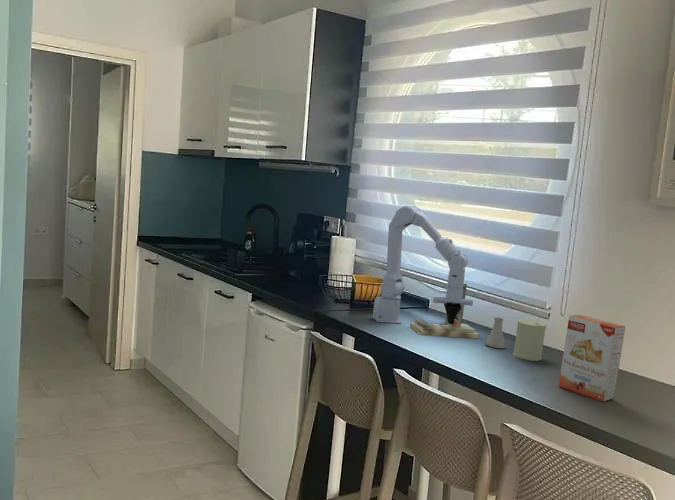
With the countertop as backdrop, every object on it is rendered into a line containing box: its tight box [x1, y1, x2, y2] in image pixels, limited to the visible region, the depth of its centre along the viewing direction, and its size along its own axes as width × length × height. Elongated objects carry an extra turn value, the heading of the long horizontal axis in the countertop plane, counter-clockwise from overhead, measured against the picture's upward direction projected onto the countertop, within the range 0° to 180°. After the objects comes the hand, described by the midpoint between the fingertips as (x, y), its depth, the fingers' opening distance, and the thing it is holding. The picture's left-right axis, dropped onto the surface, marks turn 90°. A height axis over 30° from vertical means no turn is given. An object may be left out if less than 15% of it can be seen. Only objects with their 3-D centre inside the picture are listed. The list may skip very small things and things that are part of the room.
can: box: [512, 319, 547, 362], centre depth 228 cm, size 9×9×12 cm
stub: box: [447, 319, 476, 333], centre depth 253 cm, size 7×9×3 cm
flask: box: [484, 316, 506, 350], centre depth 239 cm, size 7×7×10 cm
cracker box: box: [558, 314, 626, 402], centre depth 192 cm, size 14×6×21 cm, turn 40°
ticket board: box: [409, 318, 479, 339], centre depth 252 cm, size 22×12×3 cm, turn 101°
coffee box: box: [444, 283, 467, 325], centre depth 267 cm, size 9×6×16 cm
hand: (450, 323), depth 252 cm, fingers closed
